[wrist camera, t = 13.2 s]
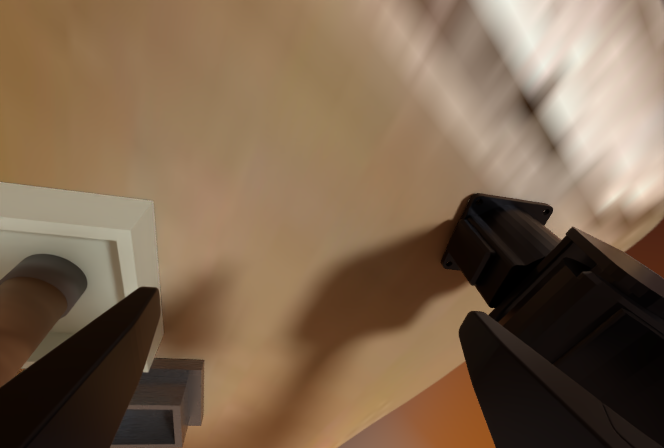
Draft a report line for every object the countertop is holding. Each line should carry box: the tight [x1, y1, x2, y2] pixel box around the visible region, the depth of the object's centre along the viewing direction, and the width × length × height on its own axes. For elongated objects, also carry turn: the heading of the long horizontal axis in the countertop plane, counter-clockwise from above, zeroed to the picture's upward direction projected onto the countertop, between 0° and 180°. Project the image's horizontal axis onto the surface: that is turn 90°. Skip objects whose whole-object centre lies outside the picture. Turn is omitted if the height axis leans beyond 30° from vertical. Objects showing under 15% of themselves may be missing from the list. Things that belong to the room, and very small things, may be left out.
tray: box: [0, 182, 164, 372], centre depth 21 cm, size 13×13×4 cm
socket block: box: [110, 358, 204, 448], centre depth 29 cm, size 9×9×4 cm
